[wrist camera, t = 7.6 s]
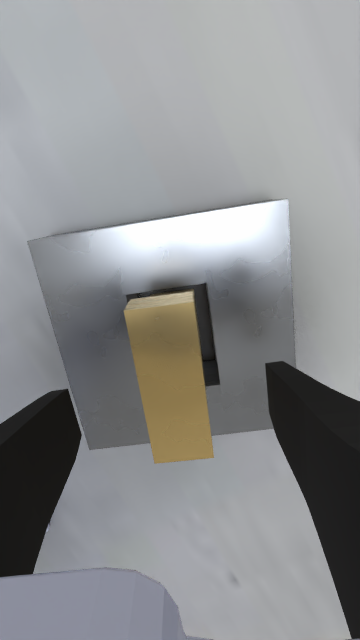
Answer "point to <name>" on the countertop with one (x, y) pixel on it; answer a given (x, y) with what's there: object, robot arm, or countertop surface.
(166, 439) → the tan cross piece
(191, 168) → the countertop surface
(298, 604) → the countertop surface
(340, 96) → the countertop surface
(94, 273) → the metal plate with slot
